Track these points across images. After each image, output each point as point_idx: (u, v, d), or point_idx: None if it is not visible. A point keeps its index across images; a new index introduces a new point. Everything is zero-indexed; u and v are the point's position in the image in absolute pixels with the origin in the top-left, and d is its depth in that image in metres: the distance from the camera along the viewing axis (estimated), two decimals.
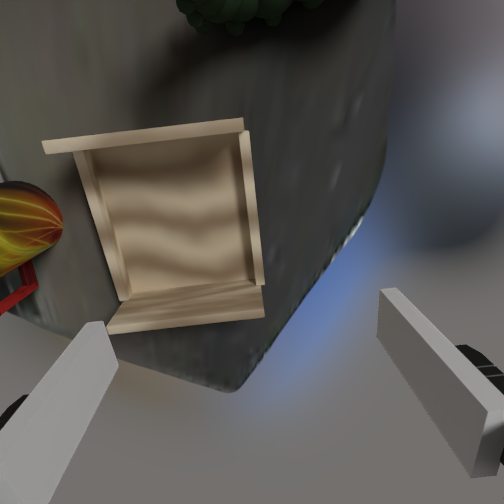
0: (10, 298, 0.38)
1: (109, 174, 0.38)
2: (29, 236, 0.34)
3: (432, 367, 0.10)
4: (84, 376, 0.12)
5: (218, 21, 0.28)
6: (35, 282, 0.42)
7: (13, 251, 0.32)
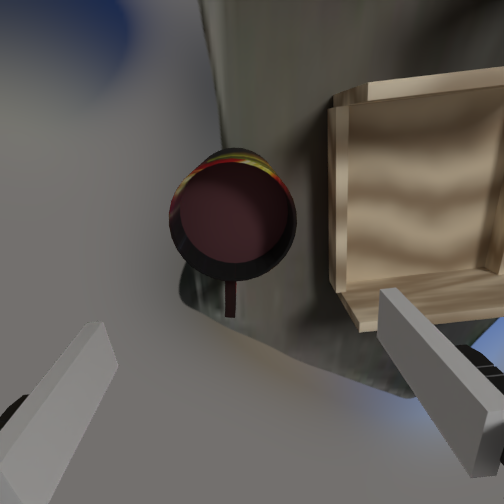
0: None
1: (354, 139, 0.31)
2: None
3: (432, 367, 0.10)
4: (84, 376, 0.12)
5: None
6: None
7: None
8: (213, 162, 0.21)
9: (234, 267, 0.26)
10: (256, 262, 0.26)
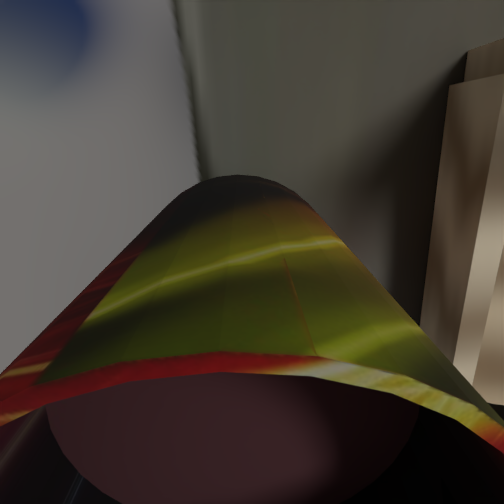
0: None
1: None
2: None
3: None
4: None
5: None
6: None
7: None
8: (93, 376, 0.03)
9: None
10: None
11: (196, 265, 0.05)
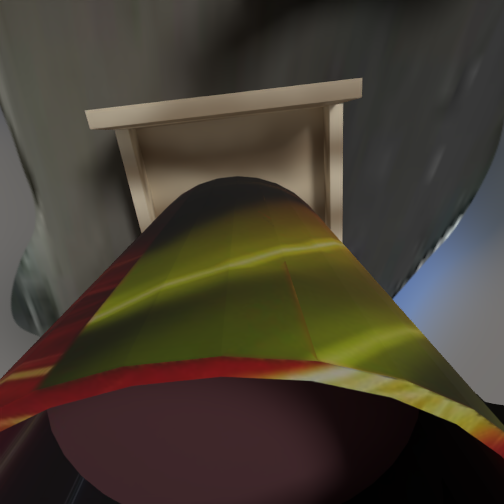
0: None
1: (157, 161, 0.30)
2: None
3: None
4: None
5: None
6: None
7: None
8: (96, 380, 0.03)
9: None
10: None
11: (197, 268, 0.05)
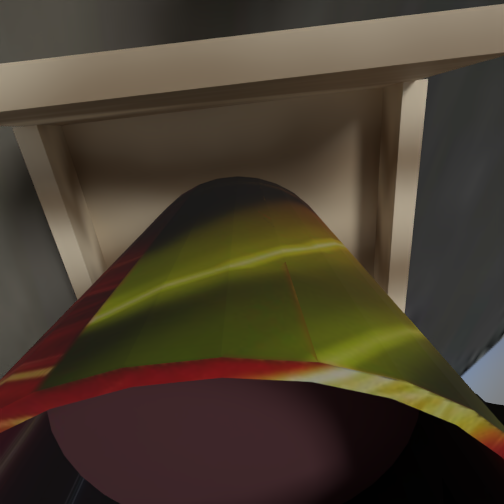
0: None
1: (101, 180, 0.18)
2: None
3: None
4: None
5: None
6: None
7: None
8: (96, 382, 0.03)
9: None
10: None
11: (197, 269, 0.05)
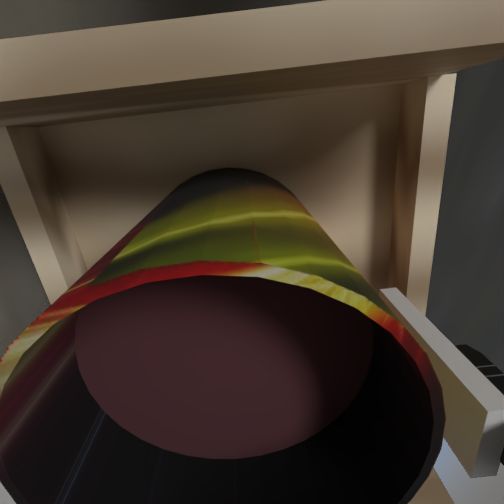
0: None
1: (84, 188, 0.16)
2: None
3: None
4: None
5: None
6: None
7: None
8: (124, 279, 0.05)
9: (232, 490, 0.10)
10: (288, 473, 0.10)
11: (188, 225, 0.07)
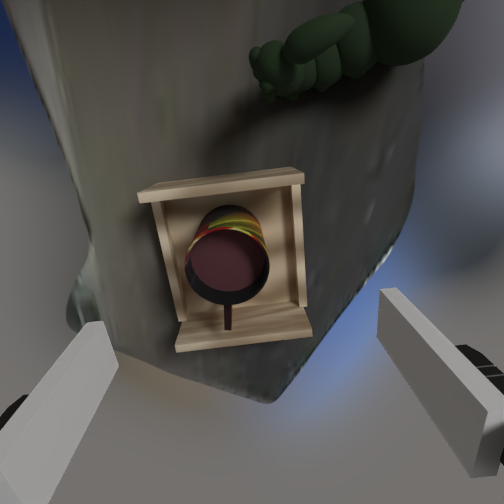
0: None
1: (175, 212, 0.44)
2: None
3: (432, 367, 0.10)
4: (84, 376, 0.12)
5: (284, 95, 0.34)
6: None
7: None
8: (212, 229, 0.32)
9: (229, 295, 0.37)
10: (245, 290, 0.37)
11: (220, 222, 0.34)
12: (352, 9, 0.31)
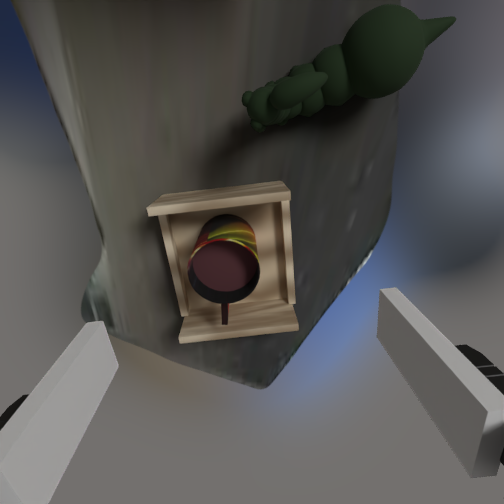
0: None
1: (179, 220, 0.49)
2: None
3: (432, 367, 0.10)
4: (84, 376, 0.12)
5: None
6: None
7: None
8: (211, 240, 0.38)
9: (226, 295, 0.43)
10: (239, 291, 0.43)
11: (218, 233, 0.40)
12: (331, 52, 0.36)
